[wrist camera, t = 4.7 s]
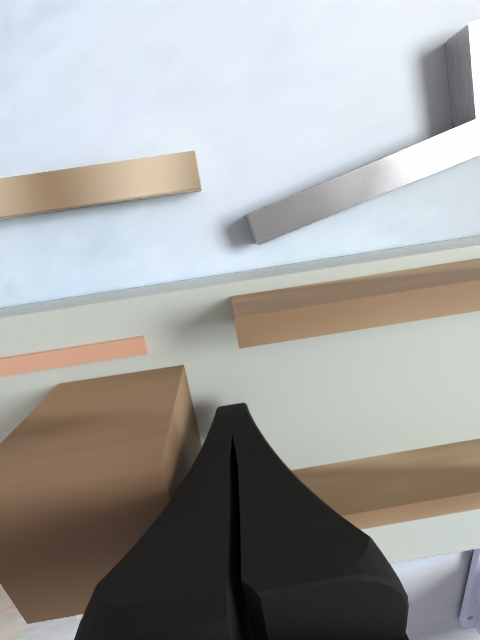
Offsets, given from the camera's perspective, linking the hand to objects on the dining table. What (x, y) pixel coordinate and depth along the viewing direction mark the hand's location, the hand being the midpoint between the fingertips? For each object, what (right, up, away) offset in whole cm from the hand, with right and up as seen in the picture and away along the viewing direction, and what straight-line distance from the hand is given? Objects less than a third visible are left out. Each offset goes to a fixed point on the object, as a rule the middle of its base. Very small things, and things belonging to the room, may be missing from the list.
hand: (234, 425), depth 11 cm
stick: (-6, +9, 0) cm, 11 cm away
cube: (-4, 0, +1) cm, 4 cm away
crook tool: (+5, +11, 0) cm, 12 cm away
